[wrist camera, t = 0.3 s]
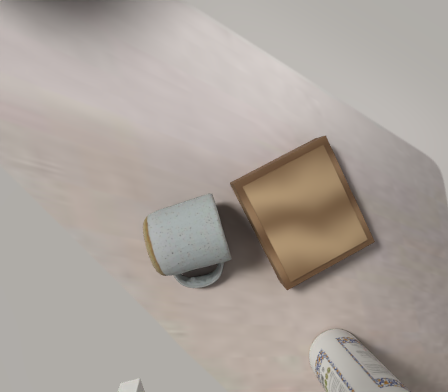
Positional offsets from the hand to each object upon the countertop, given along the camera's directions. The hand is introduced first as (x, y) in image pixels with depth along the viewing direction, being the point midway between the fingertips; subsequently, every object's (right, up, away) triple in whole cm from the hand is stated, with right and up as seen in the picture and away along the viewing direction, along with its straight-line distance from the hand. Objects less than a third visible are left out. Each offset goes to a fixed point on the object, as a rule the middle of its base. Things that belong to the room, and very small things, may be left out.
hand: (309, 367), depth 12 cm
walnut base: (+6, +5, +27) cm, 28 cm away
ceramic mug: (-7, +1, +26) cm, 27 cm away
